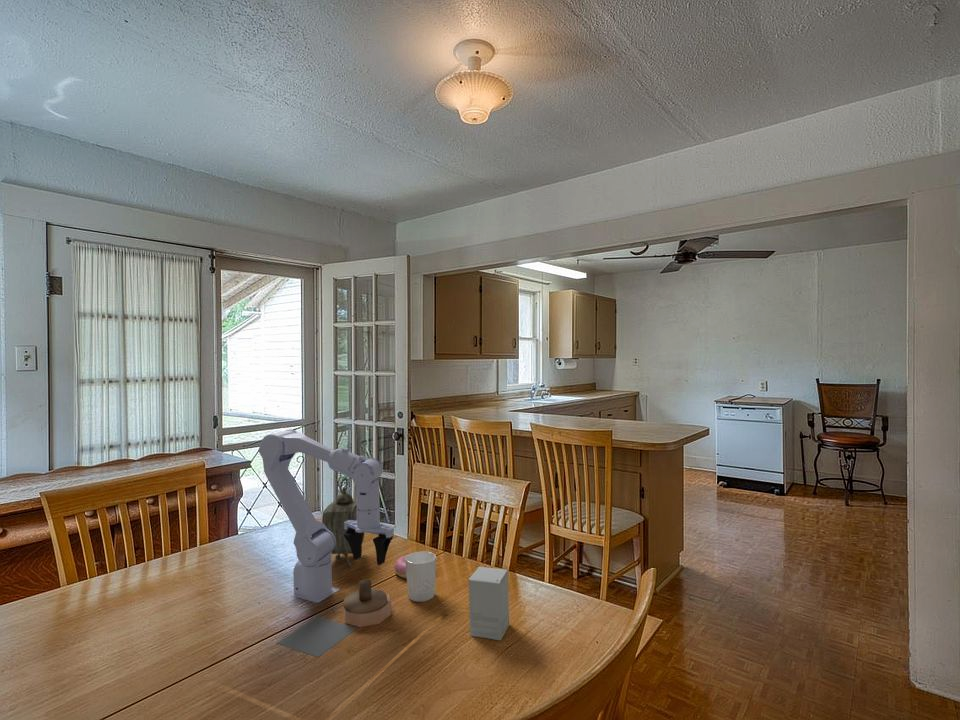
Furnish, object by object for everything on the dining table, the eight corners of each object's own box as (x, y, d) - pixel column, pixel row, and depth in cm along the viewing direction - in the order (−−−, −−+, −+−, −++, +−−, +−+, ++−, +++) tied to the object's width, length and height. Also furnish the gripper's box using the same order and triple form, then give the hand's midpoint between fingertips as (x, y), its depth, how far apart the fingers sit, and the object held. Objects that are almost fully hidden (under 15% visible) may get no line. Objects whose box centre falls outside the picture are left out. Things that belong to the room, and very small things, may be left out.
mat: (276, 645, 108) (276, 642, 108) (317, 619, 119) (317, 616, 119) (318, 660, 102) (317, 657, 102) (357, 630, 113) (357, 628, 113)
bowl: (335, 622, 117) (334, 607, 117) (364, 601, 127) (364, 587, 127) (370, 632, 112) (370, 617, 112) (399, 610, 122) (398, 596, 122)
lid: (334, 607, 117) (334, 586, 117) (363, 589, 126) (363, 569, 126) (367, 617, 112) (367, 595, 112) (395, 598, 121) (395, 577, 121)
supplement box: (510, 624, 115) (509, 569, 115) (501, 641, 108) (499, 583, 108) (479, 619, 117) (478, 565, 117) (468, 636, 110) (467, 579, 110)
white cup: (431, 604, 125) (430, 564, 124) (401, 602, 126) (400, 562, 126) (440, 589, 132) (439, 552, 132) (412, 587, 134) (411, 550, 134)
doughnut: (440, 569, 145) (440, 555, 145) (416, 584, 136) (415, 569, 136) (411, 561, 151) (411, 548, 151) (386, 575, 142) (386, 561, 142)
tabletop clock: (352, 570, 145) (351, 484, 145) (321, 570, 145) (319, 485, 145) (365, 550, 160) (363, 472, 160) (336, 551, 160) (335, 473, 160)
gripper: (335, 508, 127) (336, 561, 127) (380, 516, 121) (381, 572, 121) (354, 501, 133) (355, 551, 134) (398, 508, 127) (399, 561, 127)
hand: (369, 560), depth 128 cm, fingers open, 7 cm apart
